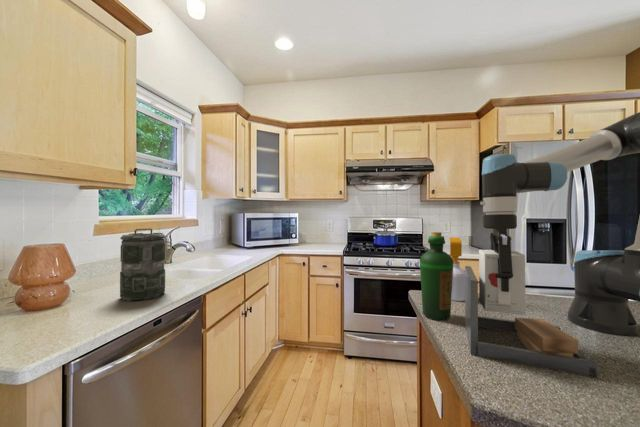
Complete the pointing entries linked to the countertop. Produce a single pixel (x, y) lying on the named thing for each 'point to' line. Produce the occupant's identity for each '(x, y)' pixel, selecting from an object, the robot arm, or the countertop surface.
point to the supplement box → (490, 284)
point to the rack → (511, 354)
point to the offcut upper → (546, 335)
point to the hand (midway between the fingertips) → (500, 298)
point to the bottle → (436, 279)
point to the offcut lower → (533, 347)
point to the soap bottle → (457, 271)
